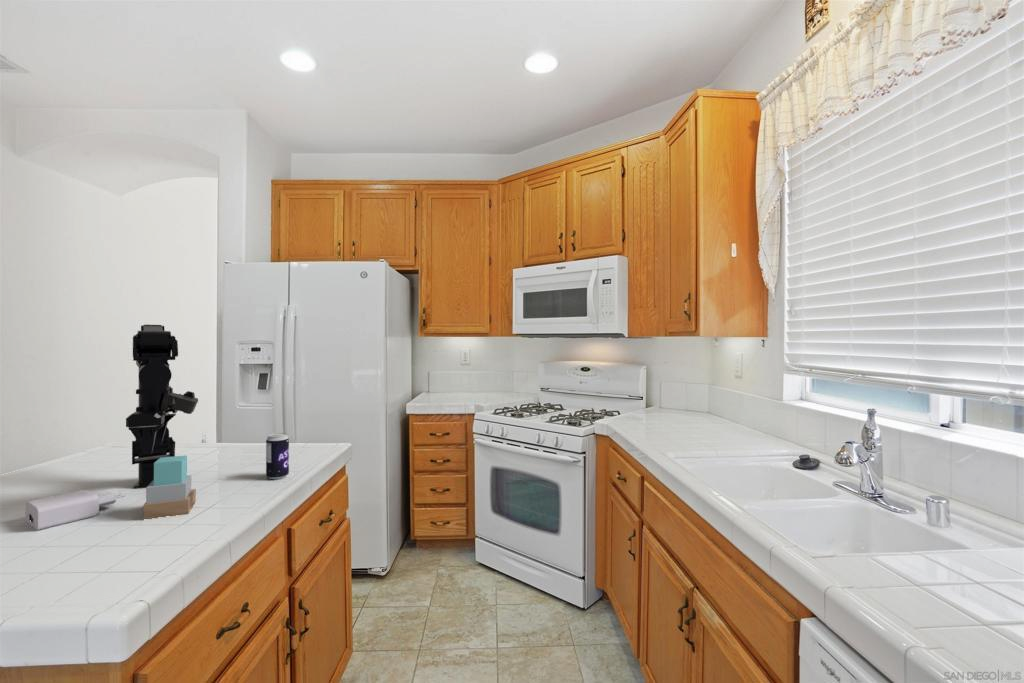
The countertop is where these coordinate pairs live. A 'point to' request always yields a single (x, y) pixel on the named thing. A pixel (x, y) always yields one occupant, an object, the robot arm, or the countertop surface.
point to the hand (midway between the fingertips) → (153, 449)
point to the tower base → (170, 507)
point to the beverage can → (277, 456)
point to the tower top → (168, 491)
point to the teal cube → (170, 470)
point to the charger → (66, 508)
